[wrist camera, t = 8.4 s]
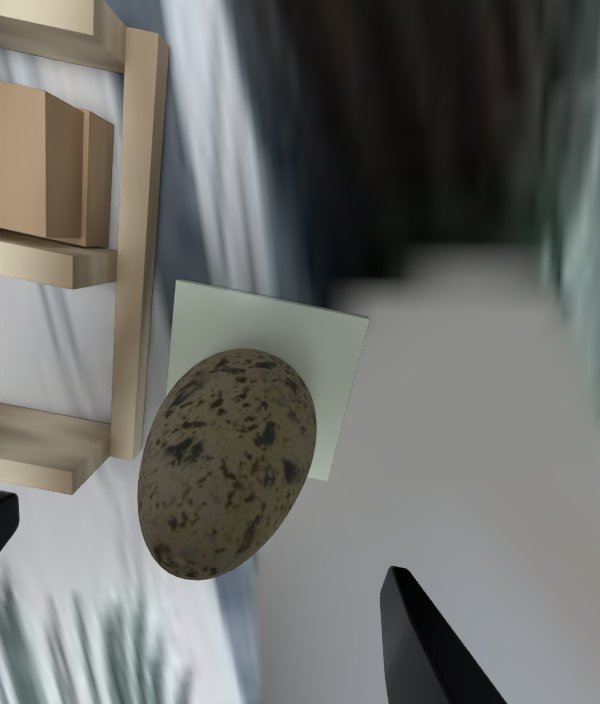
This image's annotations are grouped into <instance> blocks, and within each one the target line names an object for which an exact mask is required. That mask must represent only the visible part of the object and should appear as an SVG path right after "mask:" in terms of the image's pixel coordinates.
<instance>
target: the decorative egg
mask: <svg viewBox="0 0 600 704" xmlns="http://www.w3.org/2000/svg"><path fill="white" fill-rule="evenodd" d="M316 436H317V420H316V412H315V407H314V403H313V400H312V397H311V394H310V392H309V390H308V388H307V386H306V384H305V383H304V381H303V380H302V378H301V377H300V375H299V374H298V373H297V372H296V371H295V370H294V369H293V368H292V367H291V366H290V365H289V364H287V363H286V362H285V361H283V360H282V359H280V358H278V357H277V356H275V355H272V354H270V353H267V352H264V351H260V350H256V349H232V350H227V351H223V352H220V353H217V354H214V355H212V356H209V357H207V358H206V359H204V360H202V361H201V362H199V363H197V364H196V365H195V366H193V367H192V368H191V369H190V370H188V371H187V372H186V373H185V374H184V375H183V376H182V377H181V378H180V379H179V380H178V381H177V383H176V384H175V385H174V386H173V388H172V389H171V390H170V392H169V393H168V395H167V396H166V398H165V400H164V401H163V403H162V405H161V407H160V409H159V411H158V413H157V415H156V417H155V419H154V422H153V424H152V427H151V429H150V432H149V435H148V438H147V442H146V445H145V448H144V452H143V457H142V462H141V467H140V472H139V480H138V514H139V521H140V526H141V531H142V535H143V537H144V540H145V543H146V545H147V547H148V549H149V551H150V553H151V555H152V556H153V558H154V559H155V561H156V562H157V563H158V564H159V565H160V566H161V567H162V568H163V569H164V570H166V571H167V572H168V573H170V574H172V575H174V576H176V577H179V578H183V579H189V580H205V579H210V578H214V577H218V576H220V575H223V574H225V573H227V572H229V571H231V570H233V569H234V568H236V567H238V566H239V565H241V564H242V563H243V562H245V561H246V560H247V559H249V558H250V557H251V556H252V555H253V554H254V553H255V552H256V551H258V550H259V549H260V548H261V547H262V546H263V545H264V544H265V543H266V542H267V541H268V540H269V539H270V537H271V536H272V535H273V534H274V533H275V531H276V530H277V529H278V528H279V526H280V525H281V524H282V522H283V521H284V519H285V518H286V516H287V514H288V513H289V511H290V510H291V508H292V506H293V504H294V503H295V501H296V499H297V497H298V495H299V493H300V491H301V489H302V487H303V485H304V482H305V480H306V478H307V475H308V473H309V470H310V467H311V464H312V460H313V456H314V451H315V445H316Z"/></svg>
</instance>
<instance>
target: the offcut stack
mask: <svg viewBox="0 0 600 704" xmlns="http://www.w3.org/2000/svg"><path fill="white" fill-rule="evenodd" d="M113 137H114V125H113V124H111V123H110V122H108V121H106V120H104V119H103V118H101V117H99V116H97V115H96V114H94V113H92V112H91V111H88V110H84V109H79V108H75V107H73V106H71V105H69V104H68V103H66V102H64V101H62V100H60V99H59V98H57V97H55V96H53V95H51V94H50V93H48V92H46V91H43V90H39V89H34V88H30V87H26V86H21V85H17V84H13V83H8V82H4V81H0V228H3V229H7V230H12V231H16V232H21V233H25V234H30V235H34V236H39V237H44V238H48V239H53V240H57V241H62V242H66V243H71V244H75V245H80V246H84V247H98V246H108V244H109V223H110V201H111V180H112V159H113Z"/></svg>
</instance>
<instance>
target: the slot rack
mask: <svg viewBox="0 0 600 704" xmlns="http://www.w3.org/2000/svg"><path fill="white" fill-rule="evenodd" d="M0 48H4V49H9V50H14V51H19V52H23V53H28V54H33V55H37V56H42V57H47V58H51V59H56V60H61V61H66V62H70V63H75V64H80V65H84V66H89V67H94V68H98V69H103V70H108V71H113V72H117V73H122V74H124V100H123V126H122V152H121V177H120V203H119V229H118V251H116V250H111V249H106V248H102V247H84V246H80V245H75V244H71V243H66V242H62V241H57V240H53V239H48V238H44V237H39V236H34V235H30V234H25V233H21V232H16V231H12V230H7V229H3V228H0V275H2V276H7V277H12V278H17V279H22V280H27V281H32V282H37V283H42V284H47V285H52V286H57V287H62V288H67V289H72V290H73V289H78V288H83V287H88V286H94V285H99V284H104V283H109V282H114V281H116V306H115V332H114V358H113V383H112V409H111V425H110V424H105V423H100V422H95V421H90V420H84V419H79V418H74V417H69V416H64V415H59V414H53V413H48V412H43V411H38V410H33V409H28V408H22V407H17V406H12V405H7V404H2V403H0V481H1V482H6V483H11V484H17V485H22V486H27V487H33V488H38V489H43V490H48V491H54V492H59V493H64V494H70V495H73V494H74V493H75V492H76V490H77V489H78V488H79V487H80V486H81V485H82V484H83V483H84V482H85V481H86V480H87V479H88V478H89V477H90V476H91V475H92V474H93V473H94V472H95V471H96V470H97V469H98V468H99V467H100V466H101V464H102V463H103V462H104V461H105V460H106V459H107V458H108V457H109V456H112V457H118V458H123V459H128V460H133V459H134V458H135V457H136V455H137V454H138V453H139V452H140V451H141V447H142V433H143V418H144V404H145V389H146V375H147V361H148V346H149V332H150V318H151V303H152V289H153V275H154V260H155V246H156V232H157V217H158V203H159V188H160V174H161V160H162V145H163V131H164V117H165V102H166V88H167V74H168V59H169V47H168V45H167V44H166V43H165V41H164V40H163V39H162V37H161V36H160V35H159V33H154V32H149V31H145V30H140V29H135V28H131V27H126V26H125V24H124V23H123V22H122V21H121V20H120V19H119V18H118V16H117V15H116V14H115V13H114V12H113V11H112V10H111V8H110V7H109V6H108V5H107V4H106V3H105V1H104V0H0Z"/></svg>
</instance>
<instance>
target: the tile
mask: <svg viewBox="0 0 600 704" xmlns="http://www.w3.org/2000/svg"><path fill="white" fill-rule="evenodd" d="M369 320H370V319H369V318H368V317H367V316H362V315H357V314H352V313H347V312H342V311H337V310H332V309H327V308H322V307H317V306H312V305H307V304H302V303H297V302H293V301H288V300H283V299H278V298H273V297H268V296H263V295H258V294H253V293H248V292H243V291H238V290H233V289H228V288H223V287H218V286H213V285H208V284H204V283H199V282H194V281H189V280H184V279H179V280H176V287H175V299H174V310H173V321H172V332H171V343H170V355H169V366H168V377H167V388H166V396H167V395H168V393H169V392H170V390H171V389H172V388H173V386H174V385H175V384H176V383H177V381H178V380H179V379H180V378H181V377H182V376H183V375H184V374H185V373H186V372H187V371H188V370H190V369H191V368H192V367H193V366H195V365H196V364H197V363H199V362H201V361H202V360H204V359H206V358H207V357H209V356H212V355H214V354H217V353H220V352H223V351H227V350H232V349H256V350H260V351H264V352H267V353H270V354H272V355H275V356H277V357H278V358H280V359H282V360H283V361H285V362H286V363H287V364H289V365H290V366H291V367H292V368H293V369H294V370H295V371H296V372H297V373H298V374H299V375H300V377H301V378H302V380H303V381H304V383H305V384H306V386H307V388H308V390H309V392H310V394H311V397H312V400H313V403H314V407H315V412H316V420H317V436H316V445H315V451H314V456H313V460H312V464H311V467H310V470H309V473H308V475H307V478H312V479H317V480H322V481H328V477H329V473H330V470H331V466H332V462H333V458H334V454H335V450H336V447H337V443H338V439H339V435H340V431H341V428H342V423H343V420H344V416H345V412H346V408H347V404H348V400H349V397H350V393H351V389H352V385H353V381H354V378H355V374H356V369H357V366H358V362H359V358H360V355H361V351H362V347H363V343H364V339H365V335H366V332H367V328H368V324H369Z"/></svg>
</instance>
